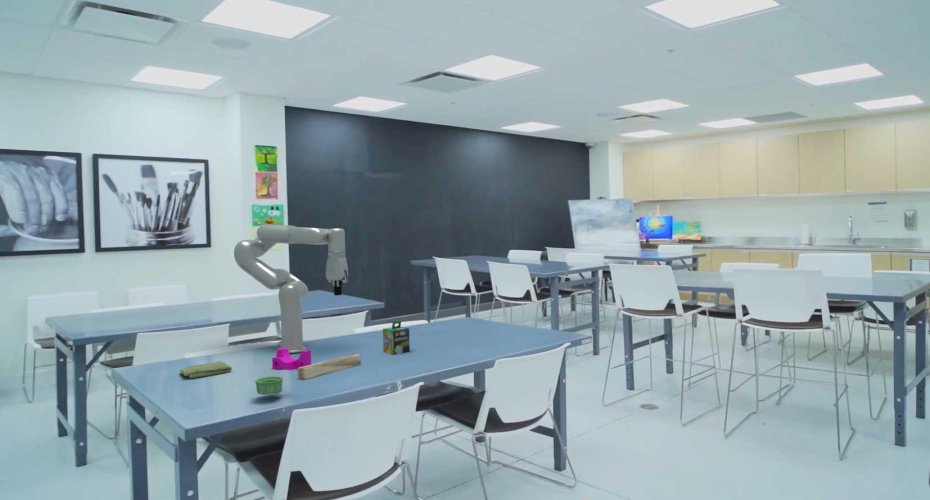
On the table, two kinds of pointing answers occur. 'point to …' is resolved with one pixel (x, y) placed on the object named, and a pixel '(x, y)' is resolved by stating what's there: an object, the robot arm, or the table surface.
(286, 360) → the toy block
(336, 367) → the board
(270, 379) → the ramekin
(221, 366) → the washcloth
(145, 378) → the table surface
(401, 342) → the chalk box
